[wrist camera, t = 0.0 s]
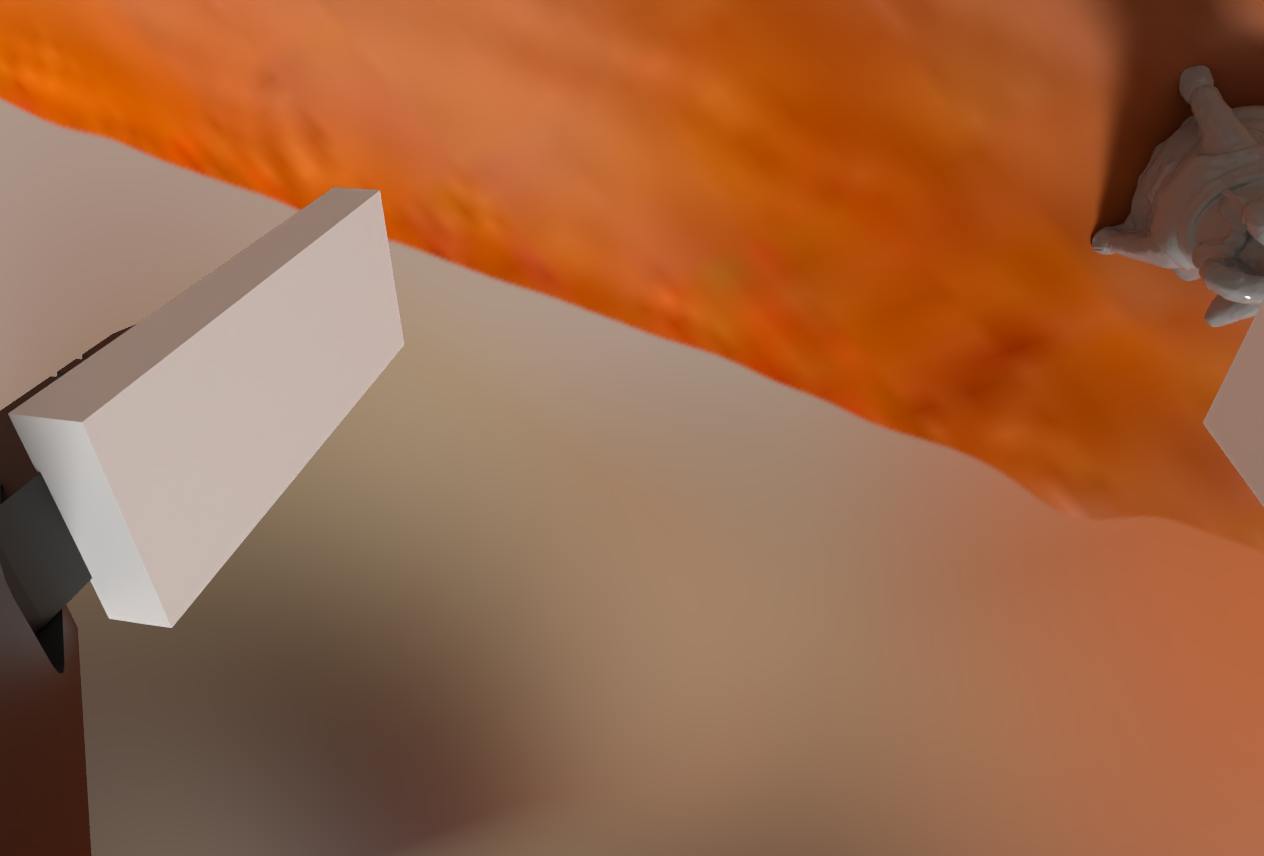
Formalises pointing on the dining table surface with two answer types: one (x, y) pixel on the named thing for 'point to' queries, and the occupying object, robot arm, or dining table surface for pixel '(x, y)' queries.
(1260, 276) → the figurine
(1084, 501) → the dining table surface
